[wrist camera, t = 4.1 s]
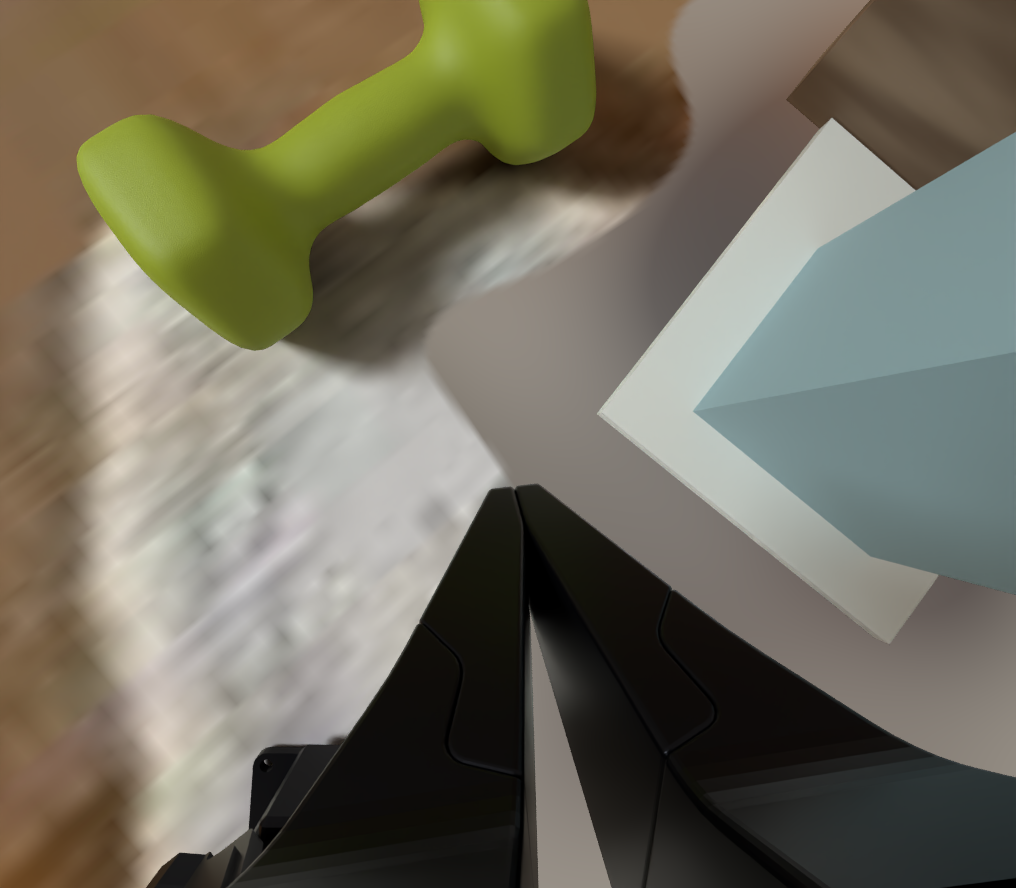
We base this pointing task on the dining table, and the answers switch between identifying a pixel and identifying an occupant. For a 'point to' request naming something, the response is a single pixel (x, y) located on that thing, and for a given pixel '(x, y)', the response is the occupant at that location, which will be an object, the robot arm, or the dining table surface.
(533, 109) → the dumbbell
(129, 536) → the dining table surface
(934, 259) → the block
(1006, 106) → the board
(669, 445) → the plate
